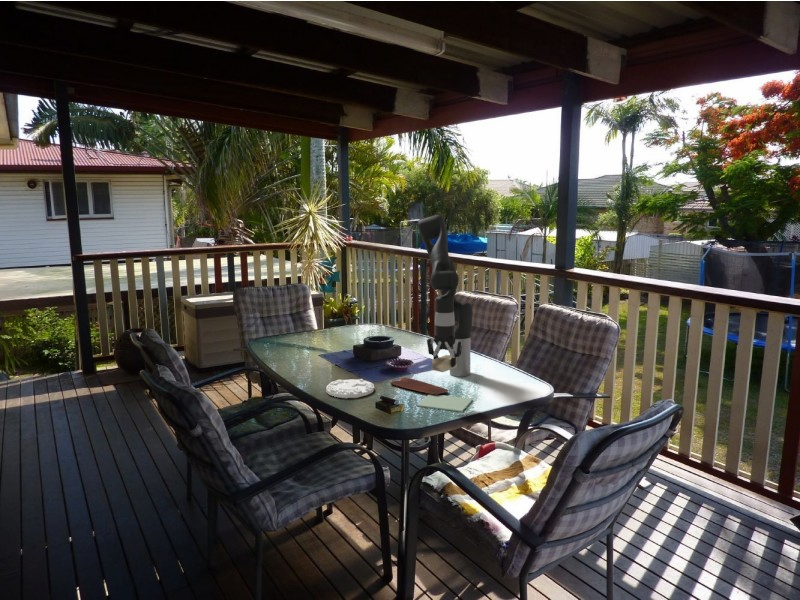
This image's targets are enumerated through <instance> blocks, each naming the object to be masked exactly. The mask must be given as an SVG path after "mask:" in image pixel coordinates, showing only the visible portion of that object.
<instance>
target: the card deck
mask: <svg viewBox="0 0 800 600" xmlns="http://www.w3.org/2000/svg"><path fill="white" fill-rule="evenodd" d="M451 358H452V356H450V354H449V355H448V354H445V355H442V356H440V357H439V356H438V358H436V359H434V358H433V359H432V361H431V362H432V363H431V367H432V369H431V370H432V371H436V372H440V373H444V372H445V373H446V372H448V371H450V369H453V368H456V367H457V357H456V365H455V366H454V367H451Z"/></svg>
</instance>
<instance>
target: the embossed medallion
mask: <svg viewBox="0 0 800 600" xmlns="http://www.w3.org/2000/svg"><path fill="white" fill-rule="evenodd" d="M374 385H375V384H374V383H373V382H370V381H368V380H364V378H359V379H350V378H349V379H336V380H334V381H331V382H329V384H328V385H326V388H325V389H326V393H327V394H328V395H329V396H332V397H333V396H334V398H336V397H337V398H341V399H346V400H347V399H348V398H349V399H358V398H361V397H364V396H368V395H371V394H372V393H373V392H374V391H375V386H374Z"/></svg>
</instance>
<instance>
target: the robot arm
mask: <svg viewBox="0 0 800 600" xmlns="http://www.w3.org/2000/svg"><path fill="white" fill-rule="evenodd" d="M417 221H418V222H417V228H418V233H419V234H420V237H421V239H422V242H423V244H424V247H425V249H426V252H427V254H428V256H429V260H430V261H429V262H430V264H431V267H432V271H431V275H430V281H429V282H430V286H431V288H432V289H433V290H436V291H440V294H441V295H439V296H438V295H437V296H436V297H435V301H434V305H435V307H434V308H435V309H434V312H435V313H434V338H433V337H430V338H428V339H426V343H427V351H428V354H429V355H431V356H433V359H436V358H439V352H440V351H442V350H445V351H448V353H449V355H450V356H452V358H451V367H454V366H455V365H456V357H457V367H456V368H453V369H450V370H449V375H451V376H453V377H458V378H459V377H460V378H461V377H467V376H468V377H469V376H471V333H472V329H473V315H474V314H473V311H474V310H473V307H472V304H471V303H470V302H466V301H461V300H460V301H459V300H457V299H456V293H457V289H458V286H459V275H458V272H457V270H456V269H457V268H456V267H455V266H456V265H455V263H454V261H453V259H451V257H449V249H448V247H449V246H448V245H449V244H448V229H447V225H446V222H445V219H444V217H443V216H442V215H441V214H434V215H431V216H428V217H425V218H422V219H420V220H417ZM435 239H437V240H436V242H435V244H434V243H433V240H435ZM456 322H457V323H458V326H457V328H456V326H455V323H456ZM434 343H435V345H436V347H435V348H434V345H433V344H434Z"/></svg>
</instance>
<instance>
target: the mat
mask: <svg viewBox="0 0 800 600" xmlns="http://www.w3.org/2000/svg"><path fill="white" fill-rule="evenodd" d="M472 400H473V401H474V399H473V398H469V397H461V396H452V395H451V396H449V395H442V394H429V393H428V394H427V395H426V397H424V398H423V399H422V400H421V401H420V402H419V403H417V404H416V407H419V408H425V407H426V408H427V409H433V408H435V409H434V410H440V409H442V410H441V411H448V410H453V411H452V412H456V411H460V412H459V413H463V412H464V411H465V410H466V409H467V407H469V405H470V404H471V403H472V402H473V401H472ZM471 401H472V402H471ZM465 408H466V409H465ZM464 409H465V410H464ZM463 410H464V411H463Z"/></svg>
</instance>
